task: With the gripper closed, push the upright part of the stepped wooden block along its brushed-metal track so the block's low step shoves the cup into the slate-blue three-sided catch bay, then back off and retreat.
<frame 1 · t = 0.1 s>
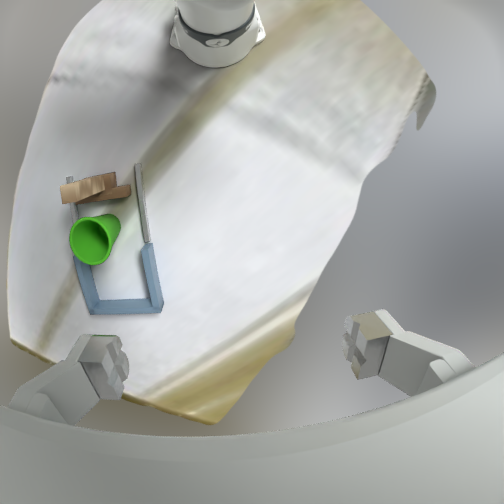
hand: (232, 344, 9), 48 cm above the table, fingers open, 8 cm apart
cup: (110, 225, 55), on the table
bay: (121, 277, 59), on the table
stepped wooden block: (88, 192, 44), point 8 cm above the table, slide at 0.0 cm
track: (107, 207, 53), on the table
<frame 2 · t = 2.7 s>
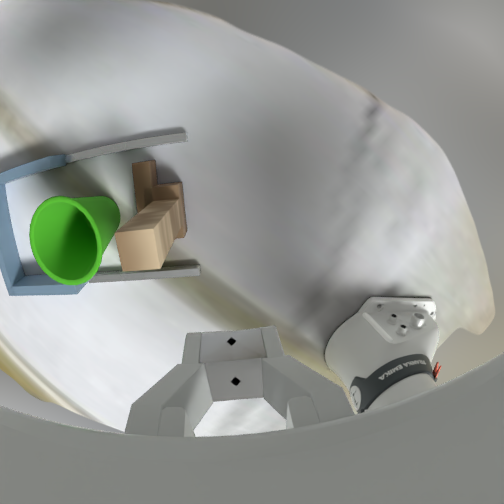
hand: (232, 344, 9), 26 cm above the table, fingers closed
cup: (104, 215, 33), on the table
bay: (36, 226, 32), on the table
stepped wooden block: (149, 224, 26), point 8 cm above the table, slide at 0.0 cm
track: (130, 211, 33), on the table
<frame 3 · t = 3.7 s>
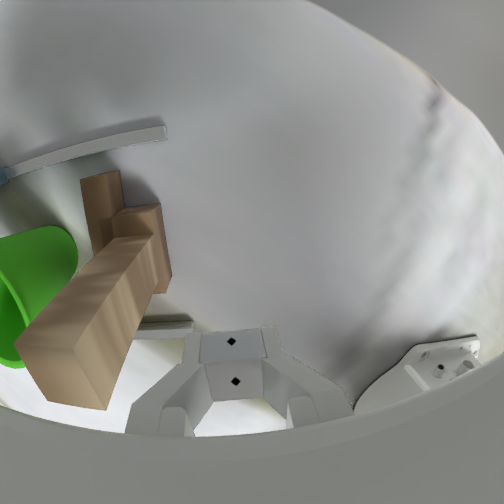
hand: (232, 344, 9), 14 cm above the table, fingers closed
cup: (58, 251, 21), on the table
stepped wooden block: (101, 286, 14), point 8 cm above the table, slide at 0.0 cm
track: (91, 247, 21), on the table
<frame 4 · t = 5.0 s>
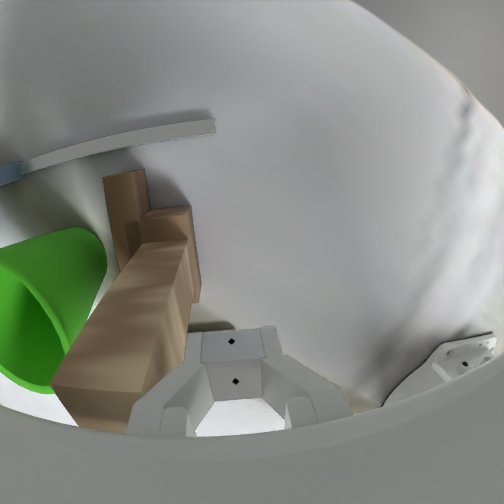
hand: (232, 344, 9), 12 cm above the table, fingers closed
cup: (82, 255, 20), on the table
stepped wooden block: (135, 300, 13), point 8 cm above the table, slide at 1.2 cm, touching gripper
track: (123, 251, 20), on the table
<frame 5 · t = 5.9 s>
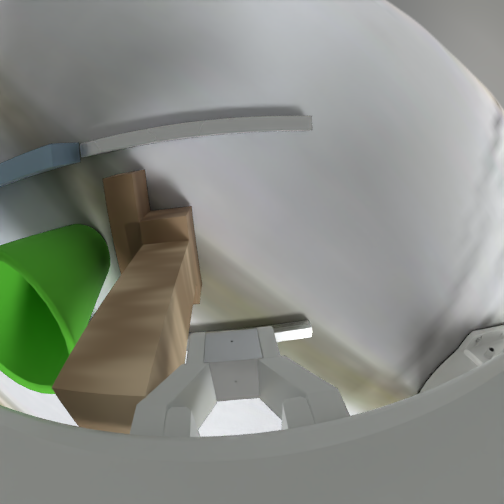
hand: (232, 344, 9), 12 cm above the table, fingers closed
cup: (84, 253, 20), on the table, touching stepped wooden block
bay: (33, 263, 19), on the table
stepped wooden block: (136, 301, 13), point 8 cm above the table, slide at 7.5 cm, touching cup, gripper
track: (203, 244, 21), on the table
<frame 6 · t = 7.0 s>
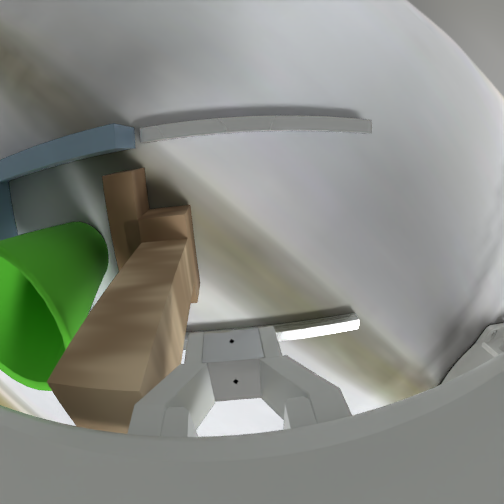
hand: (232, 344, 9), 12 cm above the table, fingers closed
cup: (83, 250, 20), on the table, touching stepped wooden block
bay: (70, 256, 20), on the table
stepped wooden block: (134, 299, 13), point 8 cm above the table, slide at 12.1 cm, touching cup, gripper
track: (265, 238, 21), on the table
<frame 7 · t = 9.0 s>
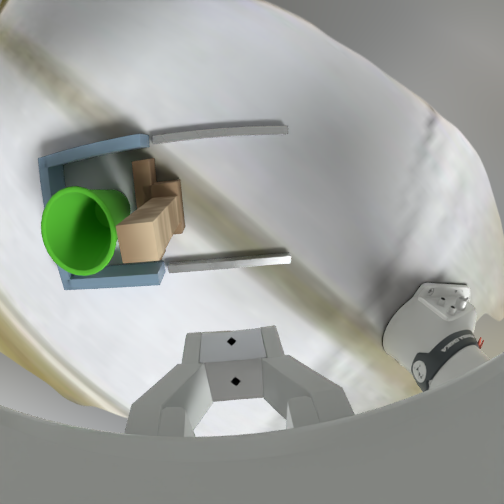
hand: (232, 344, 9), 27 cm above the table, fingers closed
cup: (113, 208, 34), on the table
bay: (104, 212, 33), on the table
stepped wooden block: (148, 220, 27), point 8 cm above the table, slide at 12.2 cm
track: (224, 199, 35), on the table
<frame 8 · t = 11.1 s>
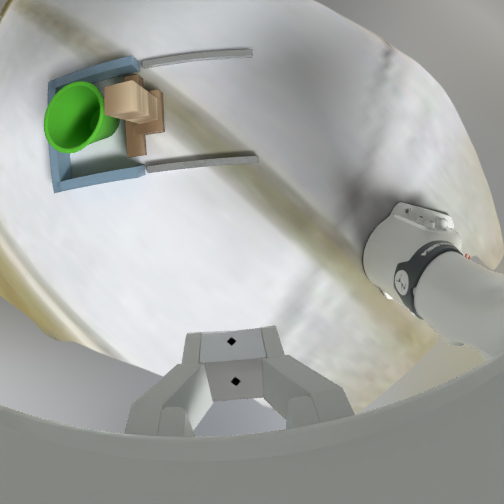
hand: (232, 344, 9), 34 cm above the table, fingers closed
cup: (105, 122, 35), on the table
bay: (97, 125, 35), on the table
stepped wooden block: (131, 108, 29), point 8 cm above the table, slide at 12.2 cm
track: (198, 108, 36), on the table
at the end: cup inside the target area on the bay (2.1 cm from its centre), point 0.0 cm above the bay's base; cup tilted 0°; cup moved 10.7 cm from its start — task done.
